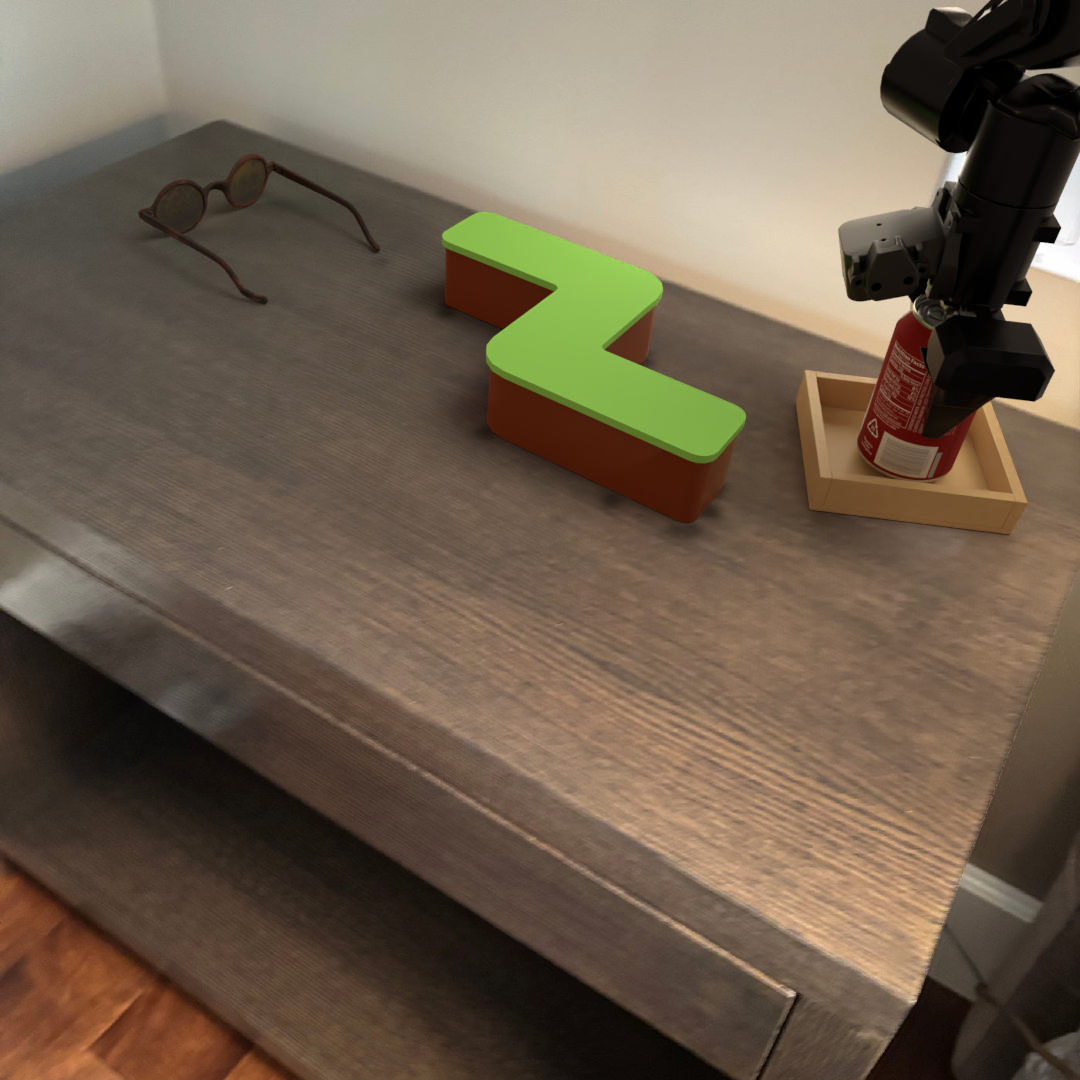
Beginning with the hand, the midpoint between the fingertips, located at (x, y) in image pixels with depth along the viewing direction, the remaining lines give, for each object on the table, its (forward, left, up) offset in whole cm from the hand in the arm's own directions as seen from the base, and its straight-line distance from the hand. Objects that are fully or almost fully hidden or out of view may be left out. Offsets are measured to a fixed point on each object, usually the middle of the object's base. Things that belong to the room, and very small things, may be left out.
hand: (920, 406), depth 70 cm
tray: (0, 0, -5) cm, 5 cm away
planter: (+24, -5, -5) cm, 25 cm away
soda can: (0, 0, -5) cm, 5 cm away
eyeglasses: (+52, -20, -5) cm, 56 cm away
